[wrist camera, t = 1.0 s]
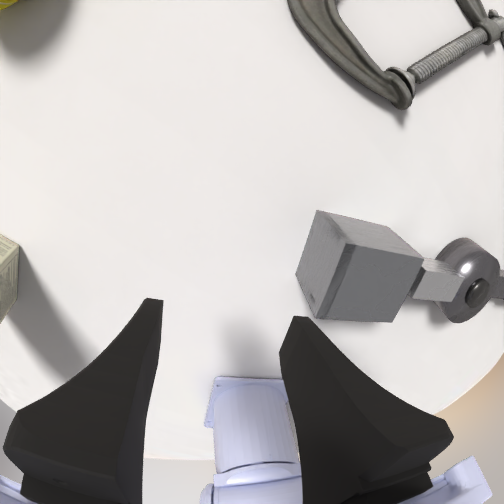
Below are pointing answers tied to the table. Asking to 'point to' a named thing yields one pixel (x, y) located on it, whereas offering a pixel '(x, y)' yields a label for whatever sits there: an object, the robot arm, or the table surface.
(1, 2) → the tennis ball
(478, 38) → the c clamp
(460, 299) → the ratchet
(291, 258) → the table surface
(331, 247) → the brushed steel cube
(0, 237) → the skincare box
